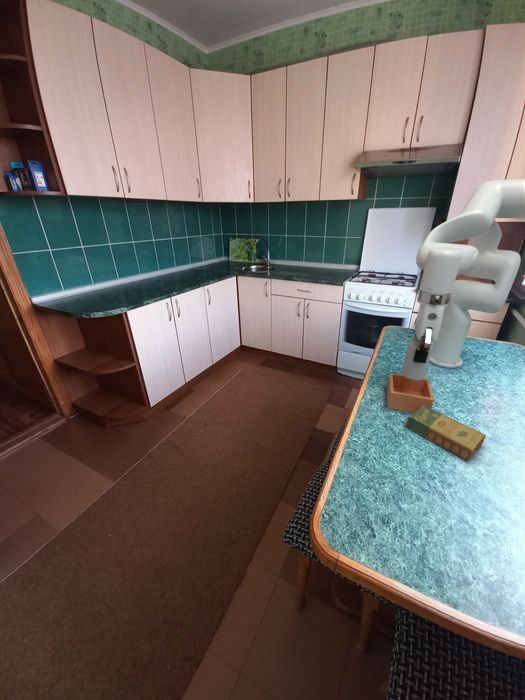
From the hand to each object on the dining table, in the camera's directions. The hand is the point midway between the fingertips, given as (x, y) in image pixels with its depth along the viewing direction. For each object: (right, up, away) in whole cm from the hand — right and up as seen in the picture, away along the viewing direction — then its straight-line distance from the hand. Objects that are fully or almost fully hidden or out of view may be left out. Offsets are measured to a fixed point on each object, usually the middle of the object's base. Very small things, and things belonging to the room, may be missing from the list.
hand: (418, 356), depth 85 cm
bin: (0, -15, +8) cm, 16 cm away
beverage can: (0, -6, +3) cm, 7 cm away
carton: (+3, -22, -6) cm, 23 cm away
